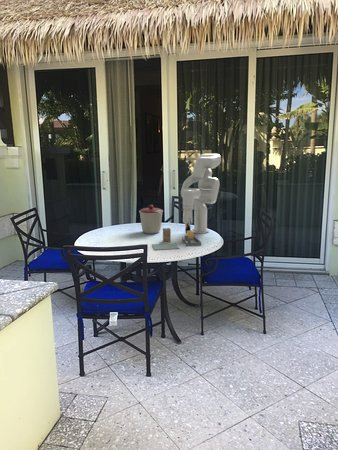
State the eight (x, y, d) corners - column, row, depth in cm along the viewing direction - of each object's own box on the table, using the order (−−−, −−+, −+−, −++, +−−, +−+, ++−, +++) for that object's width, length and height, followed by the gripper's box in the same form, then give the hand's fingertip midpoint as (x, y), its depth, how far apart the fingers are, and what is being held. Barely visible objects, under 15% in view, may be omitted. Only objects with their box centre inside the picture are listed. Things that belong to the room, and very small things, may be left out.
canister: (164, 229, 281) (164, 203, 277) (161, 235, 264) (161, 207, 259) (141, 229, 283) (141, 202, 278) (137, 234, 265) (136, 206, 261)
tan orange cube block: (186, 237, 249) (186, 230, 248) (192, 237, 249) (192, 230, 248) (187, 239, 245) (187, 231, 244) (193, 238, 246) (193, 231, 244)
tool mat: (152, 245, 238) (152, 244, 238) (175, 243, 240) (175, 243, 240) (154, 250, 226) (154, 249, 226) (179, 248, 229) (179, 248, 229)
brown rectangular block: (162, 241, 248) (162, 228, 246) (169, 240, 249) (169, 228, 247) (163, 242, 244) (163, 229, 242) (170, 242, 245) (170, 229, 243)
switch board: (182, 240, 249) (182, 235, 248) (196, 239, 251) (196, 234, 250) (186, 245, 236) (186, 240, 235) (201, 245, 237) (201, 240, 237)
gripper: (180, 205, 256) (180, 231, 260) (185, 209, 241) (184, 236, 245) (191, 205, 257) (190, 230, 261) (195, 209, 243) (195, 235, 246)
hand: (187, 233), depth 253 cm, fingers closed
